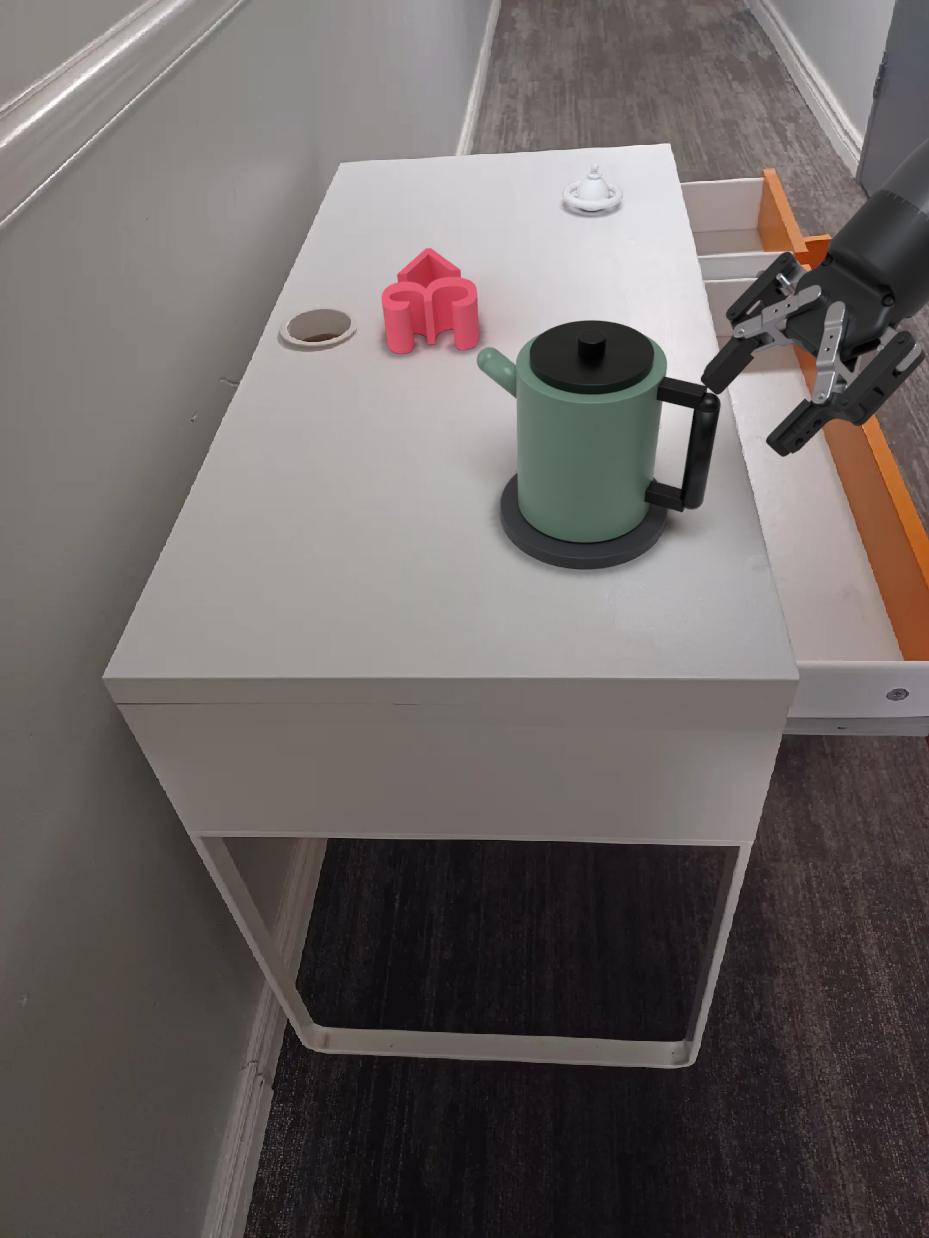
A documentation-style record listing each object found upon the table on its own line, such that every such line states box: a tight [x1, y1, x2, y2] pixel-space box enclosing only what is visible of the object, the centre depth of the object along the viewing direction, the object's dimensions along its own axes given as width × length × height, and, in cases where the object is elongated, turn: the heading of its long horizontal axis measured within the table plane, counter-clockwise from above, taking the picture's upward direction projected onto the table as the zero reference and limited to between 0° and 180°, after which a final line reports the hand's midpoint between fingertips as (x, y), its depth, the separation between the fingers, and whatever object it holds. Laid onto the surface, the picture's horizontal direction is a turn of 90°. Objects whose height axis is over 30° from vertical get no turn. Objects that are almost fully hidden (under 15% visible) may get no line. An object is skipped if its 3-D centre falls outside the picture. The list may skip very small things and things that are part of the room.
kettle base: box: [499, 471, 668, 570], centre depth 75 cm, size 14×14×1 cm
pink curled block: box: [381, 247, 480, 355], centre depth 97 cm, size 14×10×5 cm
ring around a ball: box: [561, 162, 624, 212], centre depth 115 cm, size 8×6×8 cm
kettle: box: [476, 319, 722, 542], centre depth 68 cm, size 19×11×15 cm, turn 61°
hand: (739, 417), depth 63 cm, fingers open, 8 cm apart
